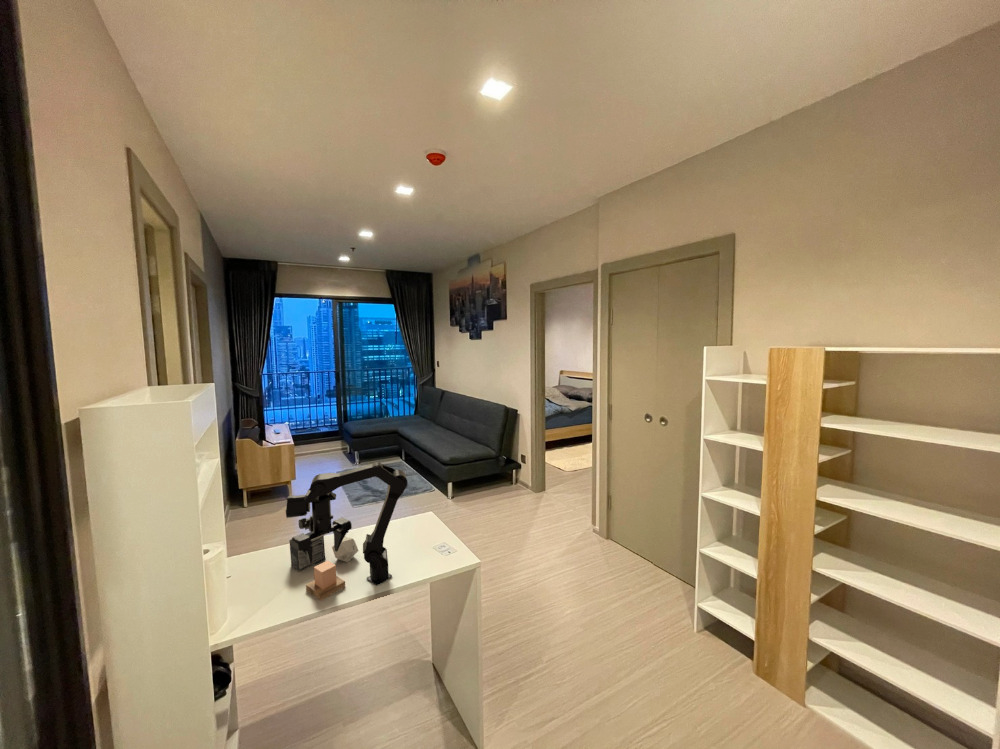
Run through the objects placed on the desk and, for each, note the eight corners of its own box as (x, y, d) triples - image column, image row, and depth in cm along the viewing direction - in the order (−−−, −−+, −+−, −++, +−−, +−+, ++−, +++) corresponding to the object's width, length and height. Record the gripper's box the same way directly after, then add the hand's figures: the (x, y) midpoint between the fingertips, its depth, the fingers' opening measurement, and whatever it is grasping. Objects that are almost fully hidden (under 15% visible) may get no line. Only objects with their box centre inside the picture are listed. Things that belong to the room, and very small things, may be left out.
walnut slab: (345, 586, 138) (345, 581, 138) (320, 600, 131) (320, 594, 131) (330, 577, 144) (330, 571, 143) (306, 590, 137) (305, 584, 136)
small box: (317, 553, 159) (316, 528, 158) (326, 559, 155) (324, 533, 154) (290, 565, 151) (288, 539, 150) (298, 572, 147) (296, 545, 146)
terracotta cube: (336, 581, 138) (335, 565, 137) (322, 589, 134) (321, 572, 133) (328, 576, 141) (327, 560, 140) (314, 583, 137) (313, 567, 136)
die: (335, 569, 149) (351, 548, 149) (323, 551, 154) (338, 531, 153) (351, 566, 157) (366, 546, 157) (339, 549, 161) (354, 529, 161)
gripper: (334, 497, 147) (335, 538, 148) (281, 516, 132) (283, 561, 134) (351, 505, 140) (353, 548, 142) (298, 526, 125) (300, 573, 127)
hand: (323, 557), depth 136 cm, fingers open, 9 cm apart
